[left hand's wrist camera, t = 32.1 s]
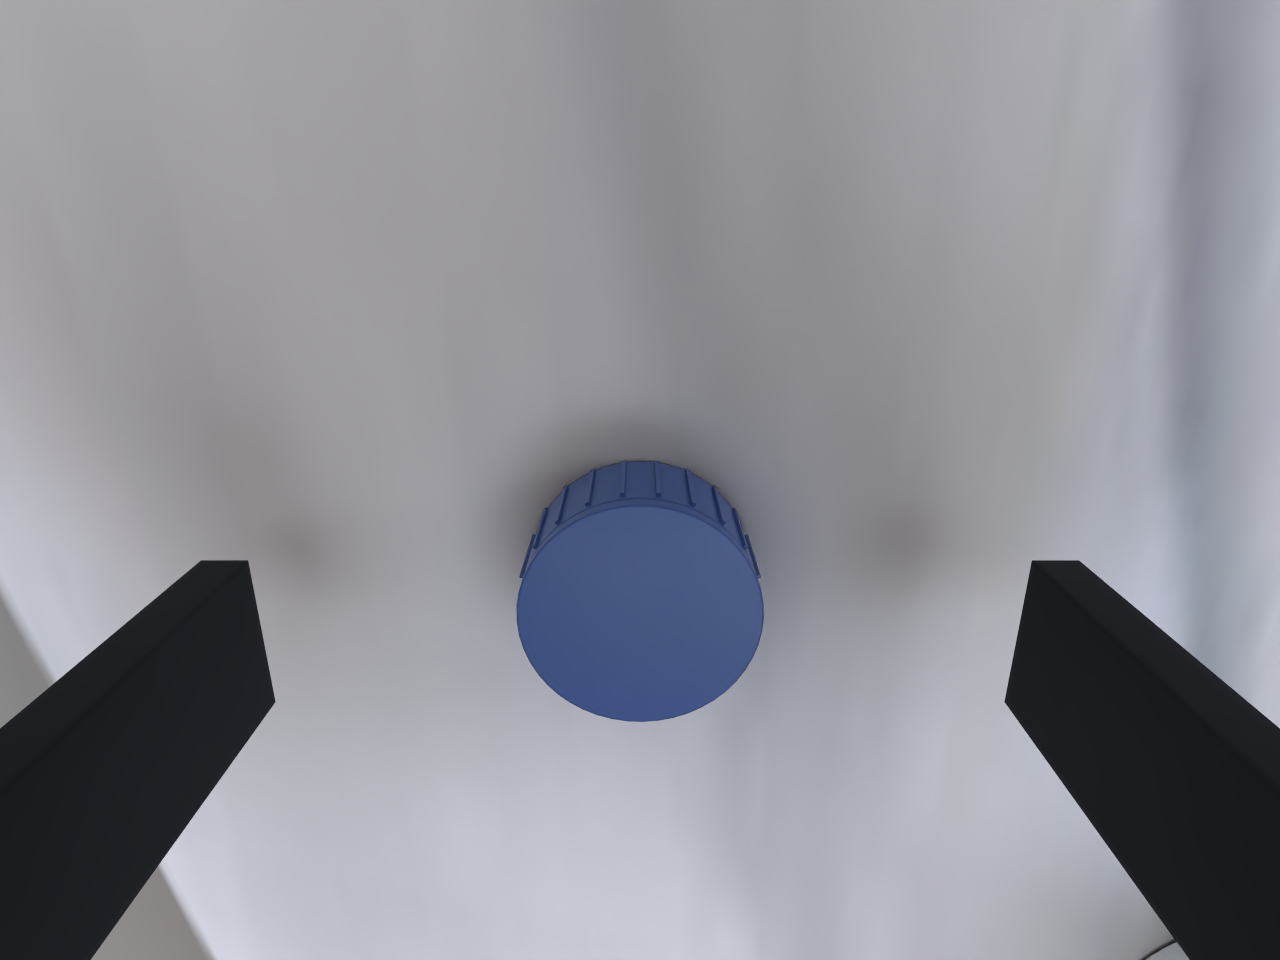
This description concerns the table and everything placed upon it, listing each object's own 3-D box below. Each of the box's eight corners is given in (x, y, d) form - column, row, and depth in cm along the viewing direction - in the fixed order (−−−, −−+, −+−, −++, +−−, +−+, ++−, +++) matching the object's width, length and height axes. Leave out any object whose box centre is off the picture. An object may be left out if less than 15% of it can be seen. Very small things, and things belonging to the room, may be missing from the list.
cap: (771, 625, 16) (791, 692, 14) (569, 676, 17) (558, 748, 14) (720, 431, 15) (733, 471, 12) (499, 492, 15) (476, 541, 13)
